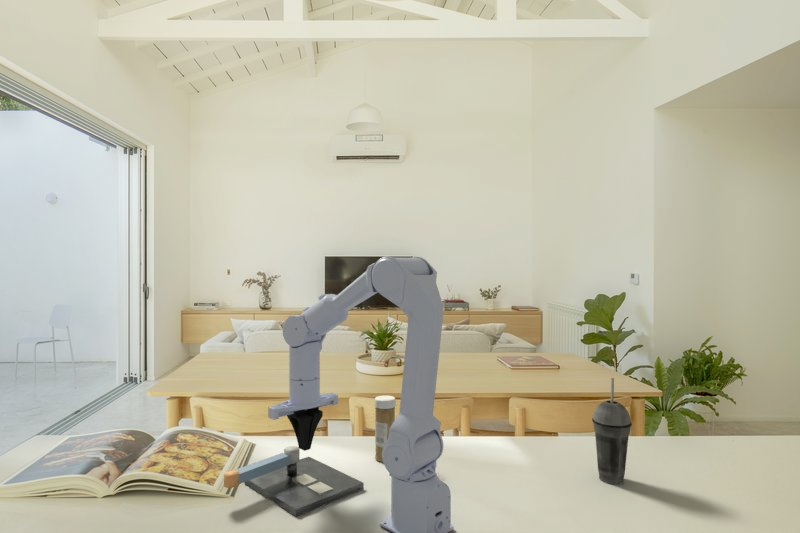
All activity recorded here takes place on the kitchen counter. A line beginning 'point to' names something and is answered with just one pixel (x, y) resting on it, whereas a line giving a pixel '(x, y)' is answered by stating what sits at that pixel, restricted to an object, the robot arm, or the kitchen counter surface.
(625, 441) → the beverage cup
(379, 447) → the sprinkles bottle
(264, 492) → the board
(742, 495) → the kitchen counter surface
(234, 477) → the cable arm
